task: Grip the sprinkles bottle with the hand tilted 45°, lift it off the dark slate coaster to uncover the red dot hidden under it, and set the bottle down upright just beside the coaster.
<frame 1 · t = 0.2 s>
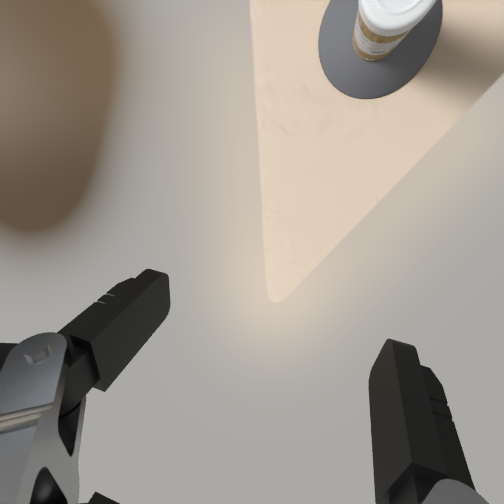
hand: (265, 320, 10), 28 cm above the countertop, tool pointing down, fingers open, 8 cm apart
coaster: (375, 34, 27), on the countertop
sprinkles bottle: (375, 34, 27), resting on coaster
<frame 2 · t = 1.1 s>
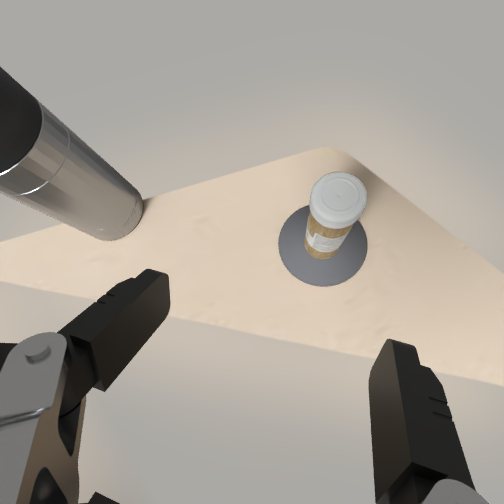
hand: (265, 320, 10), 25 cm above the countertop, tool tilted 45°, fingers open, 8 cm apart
coaster: (321, 243, 36), on the countertop
sprinkles bottle: (321, 243, 36), resting on coaster
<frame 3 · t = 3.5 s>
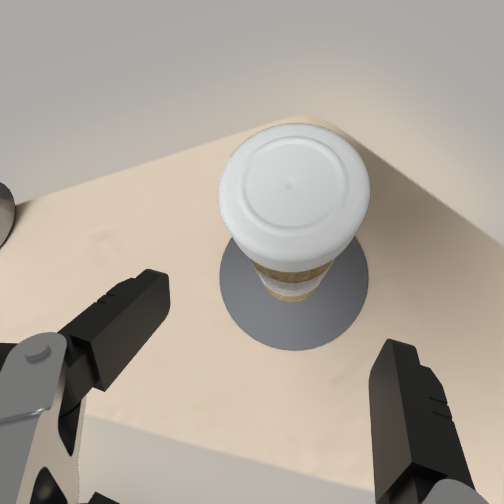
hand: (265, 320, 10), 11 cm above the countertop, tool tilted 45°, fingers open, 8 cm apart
coaster: (291, 273, 21), on the countertop
sprinkles bottle: (291, 273, 21), resting on coaster
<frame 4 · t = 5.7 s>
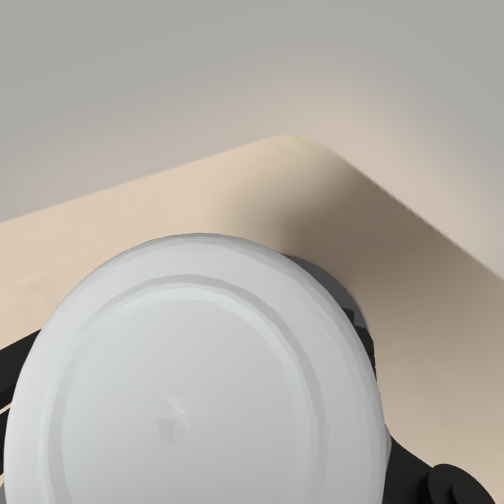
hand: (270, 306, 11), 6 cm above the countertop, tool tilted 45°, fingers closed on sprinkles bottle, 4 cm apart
coaster: (269, 347, 16), on the countertop
sprinkles bottle: (269, 347, 16), resting on coaster, touching gripper
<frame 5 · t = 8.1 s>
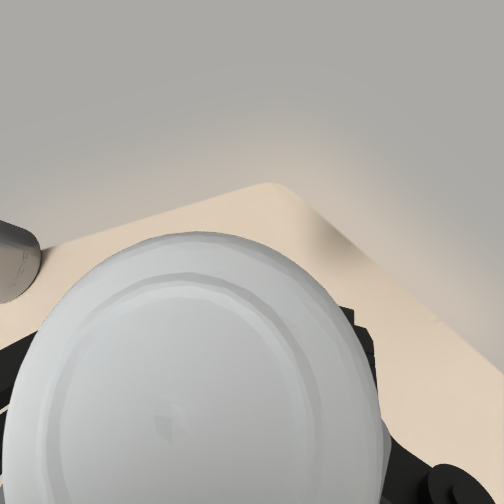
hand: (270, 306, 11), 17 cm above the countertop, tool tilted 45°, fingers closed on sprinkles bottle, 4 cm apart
sprinkles bottle: (269, 347, 16), point 11 cm above the countertop, touching gripper
when the fingers open (7 cm above the countertop, at t = 10.8 s): sprinkles bottle drops 1 cm, on the countertop.
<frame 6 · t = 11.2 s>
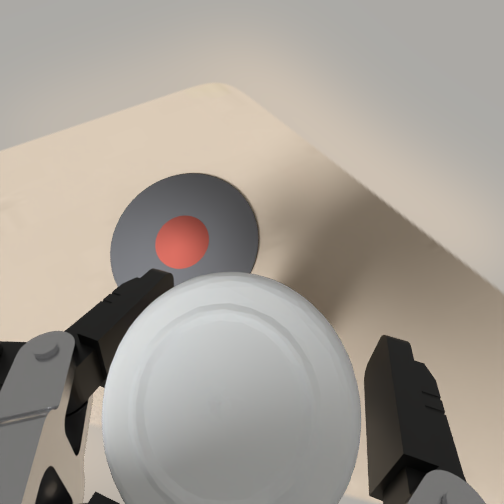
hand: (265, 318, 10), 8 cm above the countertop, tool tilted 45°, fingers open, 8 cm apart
coaster: (182, 242, 20), on the countertop
sprinkles bottle: (273, 349, 17), on the countertop
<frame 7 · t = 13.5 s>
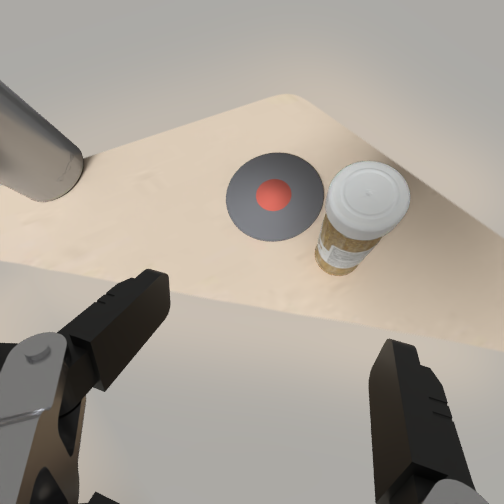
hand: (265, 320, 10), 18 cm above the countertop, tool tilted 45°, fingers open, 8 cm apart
coaster: (273, 195, 32), on the countertop
sprinkles bottle: (336, 256, 29), on the countertop
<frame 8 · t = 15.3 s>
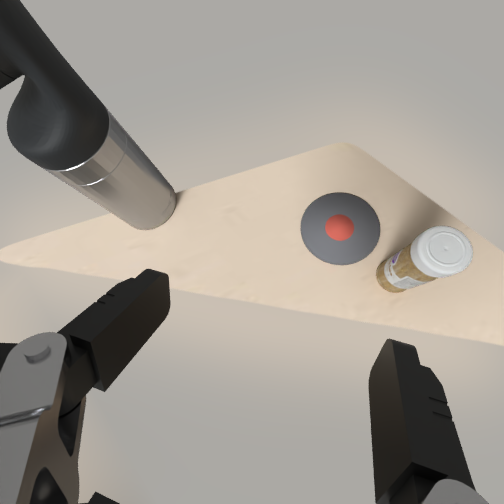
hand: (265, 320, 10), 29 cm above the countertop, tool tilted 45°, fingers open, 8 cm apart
coaster: (339, 227, 40), on the countertop
sprinkles bottle: (392, 277, 37), on the countertop
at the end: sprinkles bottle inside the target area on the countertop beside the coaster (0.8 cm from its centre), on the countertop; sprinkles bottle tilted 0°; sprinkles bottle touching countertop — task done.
